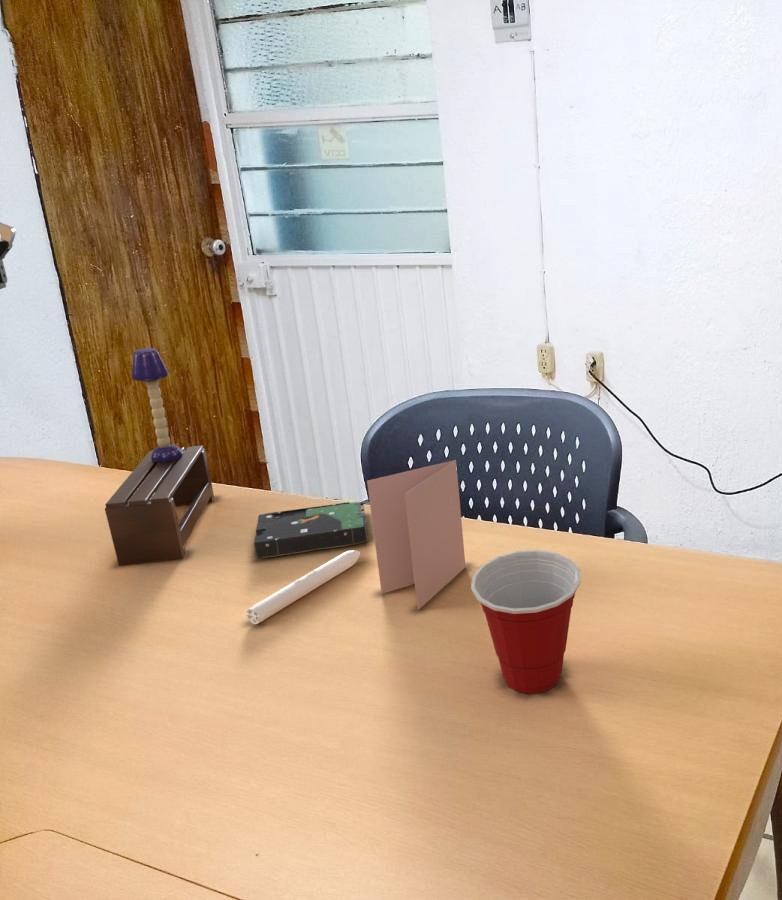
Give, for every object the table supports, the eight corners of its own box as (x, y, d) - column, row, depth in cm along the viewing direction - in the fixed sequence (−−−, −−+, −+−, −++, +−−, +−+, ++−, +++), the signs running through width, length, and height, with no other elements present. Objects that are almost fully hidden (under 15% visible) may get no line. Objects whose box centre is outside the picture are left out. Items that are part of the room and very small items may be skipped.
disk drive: (257, 562, 112) (369, 543, 116) (253, 543, 111) (367, 525, 115) (260, 531, 121) (365, 515, 125) (257, 514, 120) (362, 497, 124)
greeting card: (462, 564, 109) (452, 458, 104) (488, 586, 103) (479, 474, 98) (379, 590, 103) (364, 478, 98) (401, 615, 97) (387, 498, 92)
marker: (354, 557, 112) (352, 542, 111) (366, 560, 111) (364, 544, 110) (247, 622, 97) (244, 604, 96) (260, 626, 96) (257, 608, 95)
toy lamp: (192, 454, 126) (170, 347, 120) (168, 465, 122) (144, 354, 116) (167, 451, 127) (144, 345, 122) (142, 462, 123) (118, 352, 118)
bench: (118, 565, 111) (103, 504, 108) (160, 503, 132) (148, 450, 128) (182, 558, 113) (169, 497, 110) (214, 497, 133) (204, 445, 130)
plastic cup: (466, 708, 81) (455, 599, 77) (494, 646, 91) (487, 547, 87) (575, 715, 79) (570, 605, 75) (592, 651, 89) (589, 552, 85)
